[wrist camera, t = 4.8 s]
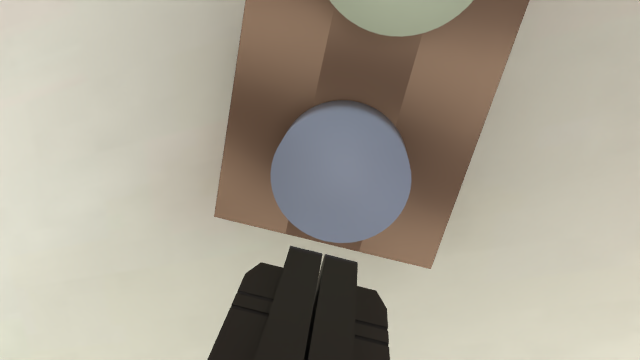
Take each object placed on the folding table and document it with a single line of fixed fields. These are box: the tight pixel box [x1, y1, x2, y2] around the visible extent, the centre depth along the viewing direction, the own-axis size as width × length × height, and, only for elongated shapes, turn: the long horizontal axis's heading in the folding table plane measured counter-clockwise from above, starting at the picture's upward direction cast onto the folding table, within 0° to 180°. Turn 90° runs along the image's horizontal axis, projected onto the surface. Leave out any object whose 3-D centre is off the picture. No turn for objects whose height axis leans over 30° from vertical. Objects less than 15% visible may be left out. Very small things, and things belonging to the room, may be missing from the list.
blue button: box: [271, 100, 411, 243], centre depth 19 cm, size 5×5×5 cm
